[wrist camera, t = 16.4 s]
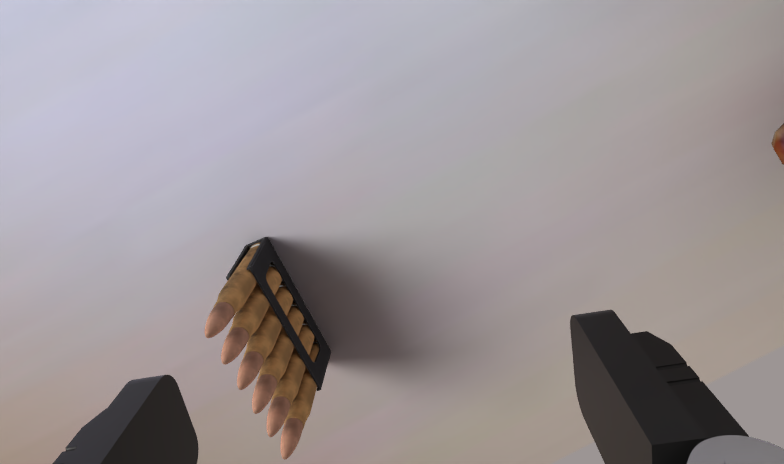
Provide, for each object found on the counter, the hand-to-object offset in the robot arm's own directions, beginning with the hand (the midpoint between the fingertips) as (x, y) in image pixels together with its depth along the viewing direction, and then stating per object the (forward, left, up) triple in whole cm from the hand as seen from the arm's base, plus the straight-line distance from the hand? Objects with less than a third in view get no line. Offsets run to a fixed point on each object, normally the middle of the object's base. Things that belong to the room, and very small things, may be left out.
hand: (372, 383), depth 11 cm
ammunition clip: (+11, -10, -28) cm, 32 cm away
